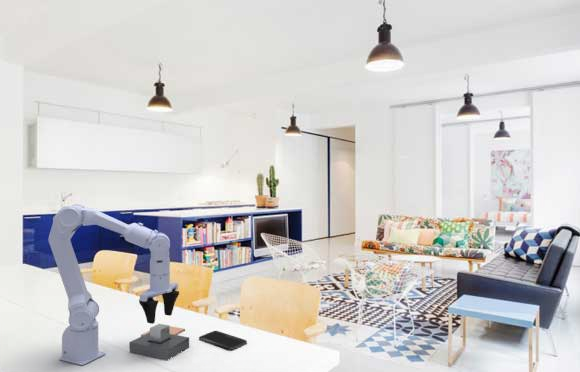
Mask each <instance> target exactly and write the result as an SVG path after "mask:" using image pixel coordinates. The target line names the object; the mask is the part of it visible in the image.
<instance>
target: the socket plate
mask: <svg viewBox="0 0 580 372" xmlns="http://www.w3.org/2000/svg"><path fill="white" fill-rule="evenodd" d="M188 347H189V348H190V337H189V336H183V335H179V334H177V335H173V334H170V340H168V341H166V342H164V343H162V344H156V343H151V342H150V333H148V334H145V335H143V336H141V335H140V336H139V337H138V338H135V339H133V340H131V341H130V342H129V353H131V354H135V355H140V356H143V357H144V356H145V357H150V358H154V359H159V360H163V359H164V360H163V361H169V360H171V359H172V358H173V356H174V357H176V356H177V355H179V354H180V353H182V352H184V351H185V350H187V349H189V348H188ZM186 348H187V349H186ZM183 350H184V351H183ZM181 351H182V352H181ZM178 353H179V354H178ZM176 354H177V355H176ZM171 357H172V358H171ZM170 358H171V359H170ZM168 359H169V360H168Z"/></svg>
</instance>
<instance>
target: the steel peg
mask: <svg viewBox="0 0 580 372" xmlns="http://www.w3.org/2000/svg"><path fill="white" fill-rule="evenodd" d="M170 326H171V325H169V324H164V323H157V324H156V325H154V326H151V327H150V328H149V331H150V342H151V343H156V344H162V343H164V342H166V341H168V340H170Z"/></svg>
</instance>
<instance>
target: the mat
mask: <svg viewBox="0 0 580 372" xmlns="http://www.w3.org/2000/svg"><path fill="white" fill-rule="evenodd" d="M169 326H170V334H173V335H179V334H181V333H182V332H185V331H186V329H185V328H182V327H176V326H171V325H169ZM148 333H150V330H148V331H146V332H143V333H142V334H140V337H141V336H143V335H145V334H148Z"/></svg>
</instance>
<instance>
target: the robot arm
mask: <svg viewBox="0 0 580 372" xmlns="http://www.w3.org/2000/svg"><path fill="white" fill-rule="evenodd" d="M92 225H96V226H99V227H101V228H102V227H103V228H104V229H107V230H110V231H112V232H115V233H117V234H121V235H122V236H123V237H124V240H125V241H127V242H128V243H131V244H133V245H136V246H139V247H141V248H143V249H149V251H150V259H149V288H148V289H147V290H146V291H144V292H142V293H140V294H139V299H138V301H139V303H138V304H139V305H140V306H141V308H142V310H143V312H144V314H145V318H146V322H147V324H152V325H153V324H155V320H156V311H157V307H158V303H159V300H155V299H154V298H156V297H159V296H162V300H163V301H162V302H163V311H164V315H165V316H169V317H170V316H172V314H173V311H174V306H175V304H176V300H178V297H179V295H180V291H178V289H179V284H178V282H170V281H171V280H170V279H171V278H170V277H171V272H170V271H171V266H170V265H171V263H170V260H171V259H170V248H171V241H170V238H169V236H167V234H165V233H164V232H159V231H158V230H157V229H154V230H153V229H150V228H148V227H147V226H144V223H141V222H138V223H136V222H133V223H130V224H127V223H125V222H123V221H121V220H118V219H117V218H115V217H112V216H111V215H110V216H109V215H108V214H105V213H104V212H101V211H100V210H98V209H94V208H91V207H88V206H87V207H85V206H84V205H82V204H72V205H66V206H63V207H62V208H61V209H59V210H58V212H57V213H56V214H55V215H54V216H53V218H52V225H51V227H50V228H51V229H50V231H49V236H48V239H47V241H48V243H49V246H50V249H51V252H52V255H53V258H54V261H55V264H56V266H57V270H58V272H59V275H60V278H61V281H62V284H63V286H64V291H65V293H66V296H67V299H68V303H67V309H68V313H69V316H68V324H69V326H67V327H66V328H65V329H64V331H63V333H62V336H61V356H60V357H59V358H58V360H60V361H64V362H68V363H71V364H75V365H80V366H84V365H86V364H88V363H91V362H92V361H95V360H96V359H98V358H101V357H102V356H105V355H106V352H105V351H100V350H99V322H98V321H97V319H96V317H97V316H98V315H99V313H100V306H99V304H98V302H96V300H94V298H93V297H92V294H91V293H90V291H88V288H87V286H86V283H85V280H84V277H83V273H82V271H81V267H80V265H79V262H78V259H77V257H76V253H75V251H74V248H73V245H72V241H71V239H72V238H73V236H74V234H75V233H76V231H77V230H78V229H79V228H81V227H82V226H83V227H84V226H92Z"/></svg>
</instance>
